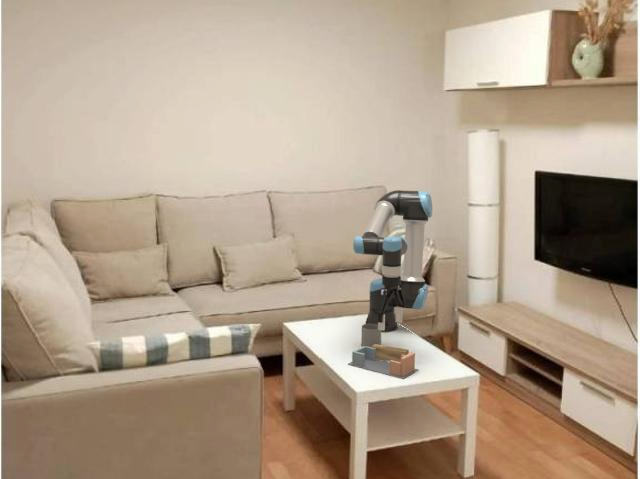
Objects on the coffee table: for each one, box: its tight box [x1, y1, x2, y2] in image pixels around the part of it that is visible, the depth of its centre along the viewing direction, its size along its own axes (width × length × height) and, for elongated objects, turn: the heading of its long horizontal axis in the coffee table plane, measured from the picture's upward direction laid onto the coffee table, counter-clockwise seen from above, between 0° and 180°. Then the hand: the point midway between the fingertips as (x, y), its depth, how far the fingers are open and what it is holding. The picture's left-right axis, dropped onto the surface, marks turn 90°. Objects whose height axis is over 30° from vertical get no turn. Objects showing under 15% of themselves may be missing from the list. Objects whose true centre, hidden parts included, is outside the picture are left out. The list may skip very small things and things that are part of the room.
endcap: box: [389, 352, 416, 376], centre depth 290 cm, size 9×6×7 cm, turn 143°
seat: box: [347, 346, 420, 380], centre depth 295 cm, size 12×26×5 cm, turn 53°
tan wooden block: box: [372, 344, 410, 362], centre depth 305 cm, size 4×15×5 cm, turn 65°
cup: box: [360, 323, 382, 348], centre depth 317 cm, size 8×8×10 cm
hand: (390, 326), depth 303 cm, fingers open, 13 cm apart
